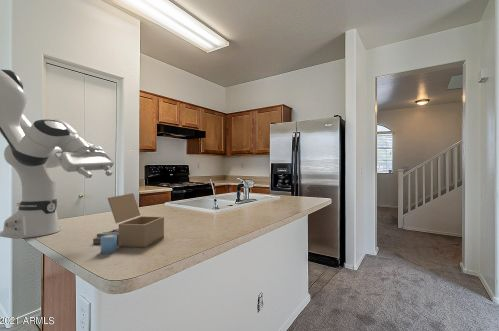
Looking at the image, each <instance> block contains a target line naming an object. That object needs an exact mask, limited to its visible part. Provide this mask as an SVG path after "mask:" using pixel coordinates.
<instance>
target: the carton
mask: <svg viewBox="0 0 499 331" xmlns="http://www.w3.org/2000/svg"><path fill="white" fill-rule="evenodd" d="M118 229H119V242H118V247H119V248H120V247H121V248H123V247H124V248H144V249H145V248H147V247H149V246H151V245H152V244H153V243H155V242H157V241H160V240H161V239H163V238H164V237H165V217H164V216H145V215H144V216H142V215H140V216H137V217H134V218H131V219H128V220H125V221H122V222H119V223H118Z"/></svg>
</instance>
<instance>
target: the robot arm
mask: <svg viewBox="0 0 499 331" xmlns="http://www.w3.org/2000/svg"><path fill="white" fill-rule="evenodd" d="M23 85H24V84H23V81H22V80H21V78H20V77H19V75H18V74H16V72H15V71H13V70H11V69H0V134H1V136H2V137H3V138H4V139H5V140H6V142H7V146H6V147H5V148H4V151H3V156H4V160H5V161H6V162H7V164H8V165H10V166H11V167H12V168H13V169H14V170H15V171H16V172H17V174H18V177H19V179H20V182H21V184H20V185H21V197H22V198H21V201H20V202H16V206H18V210H17V211H15V213H13V214H12V215H11V216H9V217H8V218H6V219H5V220H4V222H3V230H1V231H0V238H1V237H2V238H6V239H15V240H20V239H26V238H33V237H40V236H41V237H42V236H46V235H51V234H55V233H58V232H60V231H61V225H60V224H59V217H58V211H57V207H58V200H57V197H56V196H57V193H56V188H57V187H56V186H57V185H56V181H55V180H54V179H53V178H52V177H51V176H50V175H49V173H48V170H47V169H52V168H58V167H62V169H63V171H65V172H68V173H72V172H73V173H74V172H77V173H78V174H80V175H82V176H84V177H85V178H86V179H91V178H92V176H93V173H91V171H101V170H102V171H105V173H104V174H105V175H106V176H107V177H111V176H112V175H113V172H112V170H111V169H112V167H113V166H114V164H115V162H114V160H113V159H112V158H111V157H110V156H109V155H108V153H107V152H106V151H104V149H103V147H101V146H99V145H97V144H92V143H90V142H88V141H86V140H85V139H83V138H82V137H81V136H80V134H79V132H78V131H77V130H76V129H74V128H73V127H72V125H70V124H69V123H67V122H66V121H64V120H63V119H59V118H58V119H39V120H35V121H34V122H33V123H32V122H31V121H30V120H29V119H28V117H27V116H26V115H25V114H24V110H25V108H26V105H27V102H28V101H27V94H26V92H25V91H24V86H23Z"/></svg>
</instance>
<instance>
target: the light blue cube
mask: <svg viewBox="0 0 499 331" xmlns="http://www.w3.org/2000/svg"><path fill="white" fill-rule="evenodd" d="M117 251H118V242H117V235H105V236H102V237H101V243H100V254H101V255H102V254H103V255H107V254H113V253H116V252H117Z"/></svg>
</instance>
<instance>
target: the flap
mask: <svg viewBox="0 0 499 331" xmlns="http://www.w3.org/2000/svg"><path fill="white" fill-rule="evenodd" d="M107 201H108V204H109V208H110V210H111V213H112V216H113V219H114V222H115V224H120V223H123V222H126V221H129V220H132V219H135V218H138V217H141V213H140V209H139V207H138V203H137V200H136V198H135V194H134V193H128V194H123V195H115V196H110V197H107Z"/></svg>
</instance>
